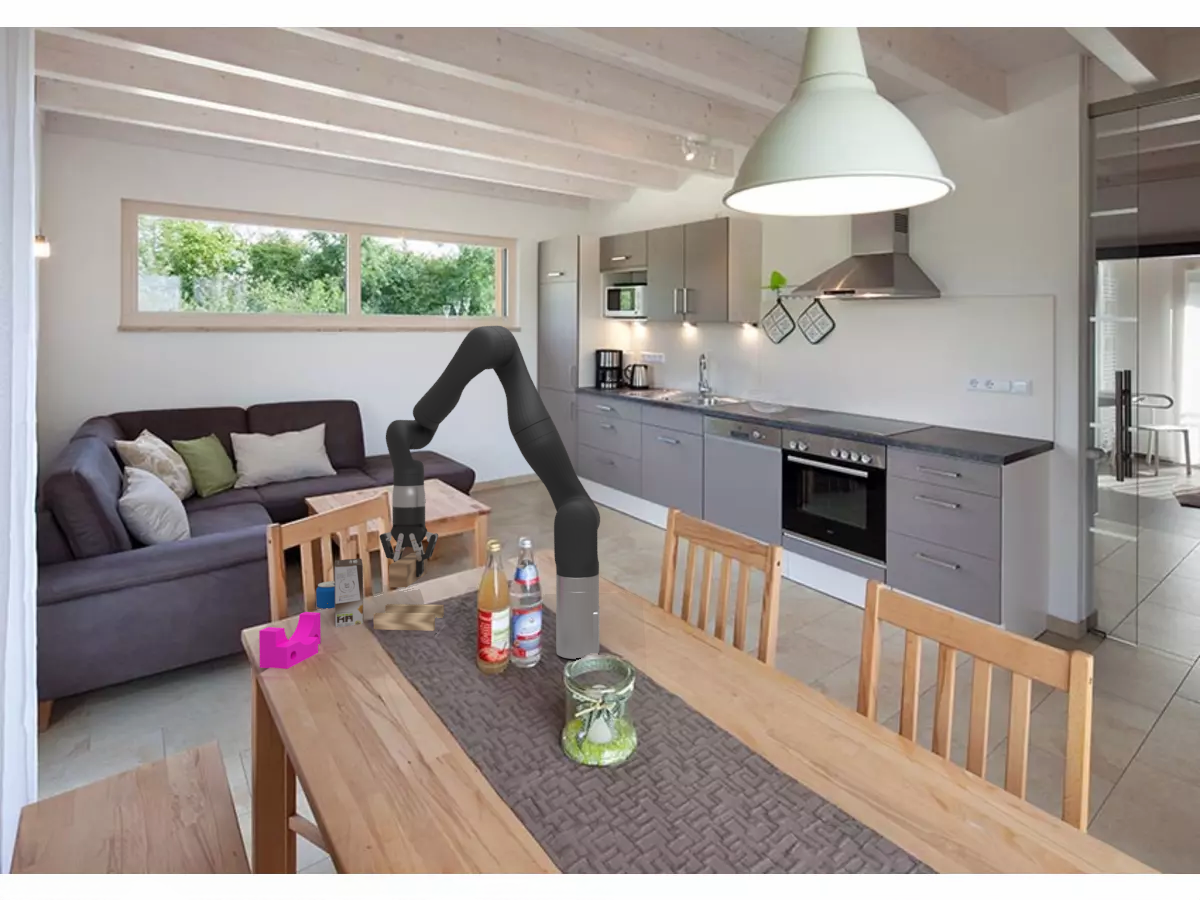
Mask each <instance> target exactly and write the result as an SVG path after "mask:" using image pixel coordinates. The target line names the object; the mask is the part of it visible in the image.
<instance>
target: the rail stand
mask: <svg viewBox="0 0 1200 900" xmlns="http://www.w3.org/2000/svg"><path fill="white" fill-rule="evenodd" d="M384 609H385V610H384V612H374V613H373V617H372V618H373V630H386V631H387V630H394V631H427V632H428V631H430V632H434V631H436V630H435V618H436V617H437V618H443V616H444V617H445V604H424V603H423V604H419V603H418V604H417V603H415V604H410V603H409V604H407V603H405V604H404V603H401V604H400V603H396V604H395V603H390V604H389V603H386V604H385V605H384ZM436 634H437V633H436V632H435V633H434V636H435V635H436Z"/></svg>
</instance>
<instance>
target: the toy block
mask: <svg viewBox="0 0 1200 900" xmlns="http://www.w3.org/2000/svg"><path fill="white" fill-rule="evenodd" d="M258 632H259V633H258V634H259V635H258V637H259V639H258V641H259V642H258V643H259V644H258V645H259V668H261V669H270V668H271V669H273V668H274V669H283V670H284V669H285V670H288V669H289V668H292V667H293V666H295V665H298V664H299V663H301V662H303V661H305V660H307V659H309V658H311V657H313V656H316V654H317V655H318V654H319V645H320V644H321V642H322V641H321V640H322V639H321V638H322V637H321V636H322V635H321V612H314V611H312V612H310V611H303V612H302V613H299V617H298V622H297V625H296V628H295V631H294V632H293V633H292V635H291V636H290V637H289V639H288V638H287V635H286V631H285V628H284V627H274V626H273V627H272V626H268V627H265V628H262V629H260V630H258ZM318 644H319V645H318Z"/></svg>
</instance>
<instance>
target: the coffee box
mask: <svg viewBox="0 0 1200 900" xmlns="http://www.w3.org/2000/svg"><path fill="white" fill-rule="evenodd" d="M363 565H364V564H363V560H362V558H348V559H335V560H334V567H333V569H334V581H335V608H334V624H335V625H334V626H335V628H344V627H350V626H356V625H362V624H364V566H363Z"/></svg>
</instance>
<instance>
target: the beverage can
mask: <svg viewBox="0 0 1200 900" xmlns="http://www.w3.org/2000/svg"><path fill="white" fill-rule="evenodd" d="M315 591H316V592H315V593H316V595H315V596H316V599H315V600H316V601H315V602H316V604H315V605H316V607H317V608H318V609H324V610H326V608H328V609H329V610H330V609H335V580H333V581H331V580H330V581H324V582H320V583H318V584H317V588H316V589H315ZM327 603H328V604H327ZM328 609H327V610H328Z"/></svg>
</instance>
